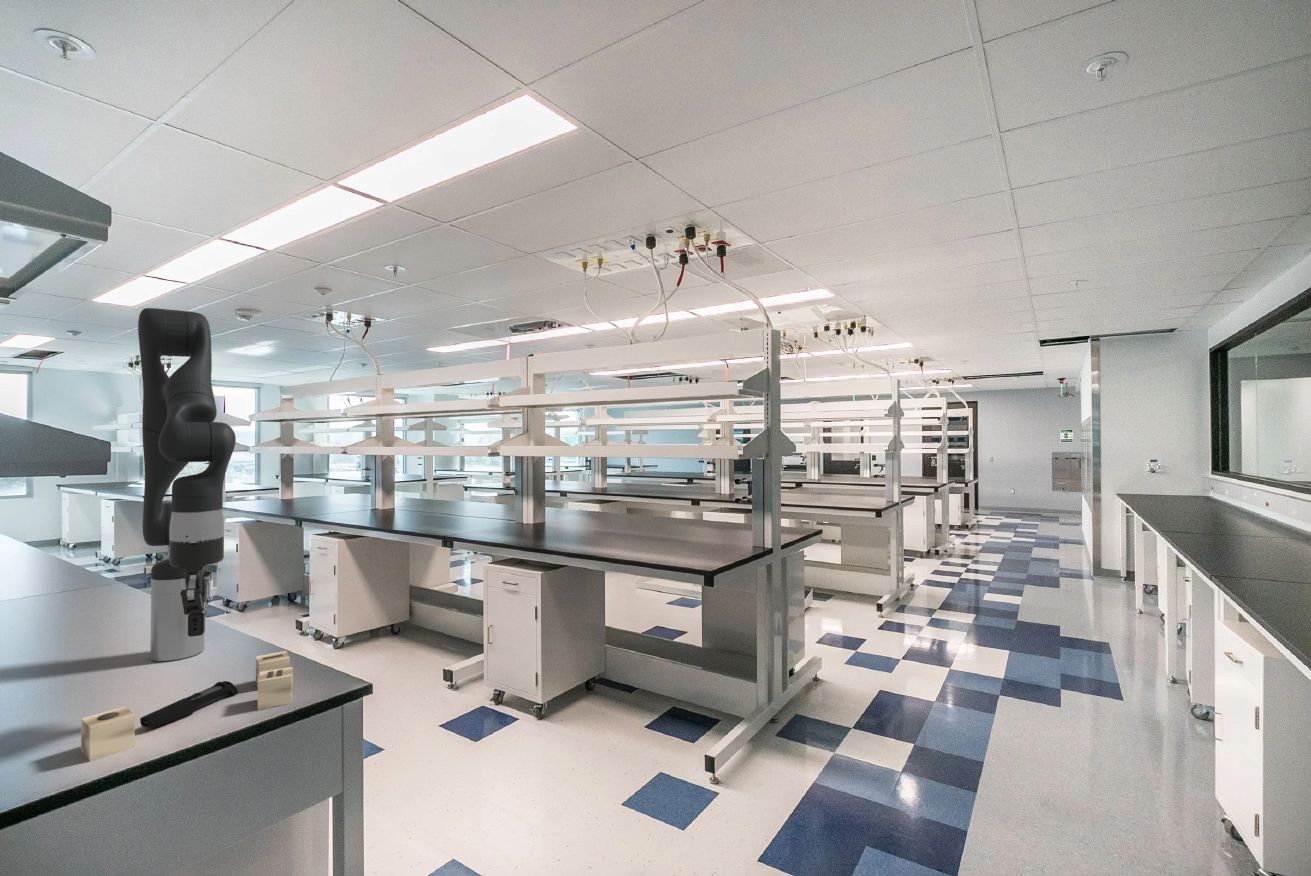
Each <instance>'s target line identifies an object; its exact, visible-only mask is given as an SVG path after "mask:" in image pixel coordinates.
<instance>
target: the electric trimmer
mask: <svg viewBox="0 0 1311 876" xmlns="http://www.w3.org/2000/svg"><path fill="white" fill-rule="evenodd" d="M238 693H239V690H238V688H237V687H236V685H235V684H234V683H232V682H230V681H227V680H223V681H218V682H216V683H214V685H213V686H210V687H209V688H206V689H204V690H201V691H199V692H195V693H193V694H192V695H189V696H187V697H184V698H182V699H179V700H177V701H175V702H173V703H170V704H168V705H167V706H163V707H161V708H158V709H157V710H154V711H152V712H150V713H148V714H146V715H143V716H141V717H140V719H139V720H140V721H139V722H140V725H141V727H144V728H151V729H152V728H157V727H160V726H162V725H165V724H167V723H170V722H173V721H176V720H180V719H182V718H185V717H188V716H190V715H192V714H194V713H195V711H196V710H199V709H201V708H204V707H206V706H208V705H210V704H212V703H215V702H218V701H219V700H222V699H225V698H226V697H235V696H236V694H238Z"/></svg>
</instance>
